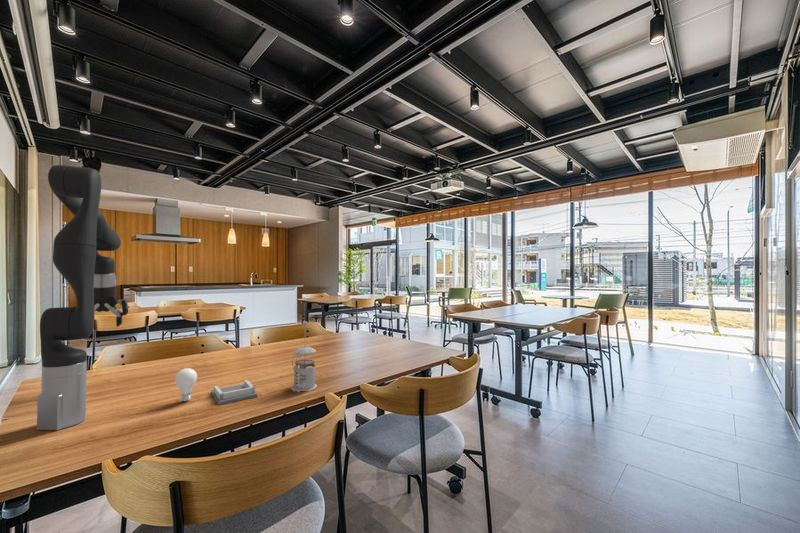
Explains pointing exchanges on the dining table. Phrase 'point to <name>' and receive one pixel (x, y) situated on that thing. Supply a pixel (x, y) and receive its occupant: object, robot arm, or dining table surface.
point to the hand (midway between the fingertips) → (104, 326)
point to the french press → (304, 369)
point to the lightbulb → (186, 382)
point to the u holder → (234, 393)
